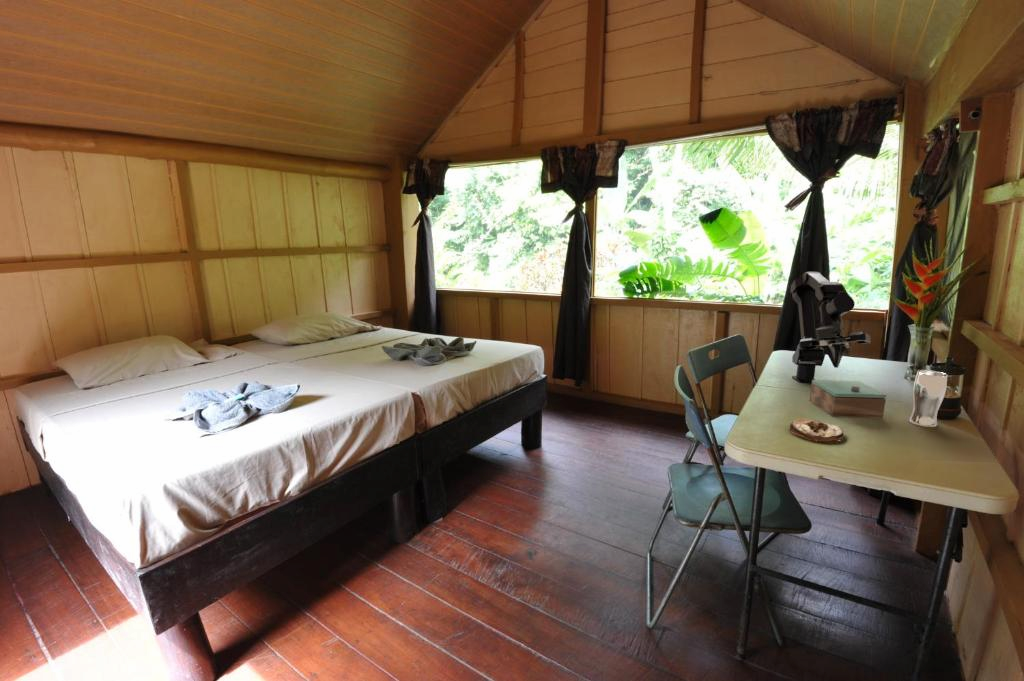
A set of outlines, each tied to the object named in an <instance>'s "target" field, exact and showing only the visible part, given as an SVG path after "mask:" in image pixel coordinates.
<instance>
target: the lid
mask: <svg viewBox="0 0 1024 681" xmlns="http://www.w3.org/2000/svg"><path fill="white" fill-rule="evenodd" d="M812 383H813V384H814V385H816V386H818V387H820V388H821V389H823V390H825V391H826V392H828V393H830V394H831V395H833V396H835V397H865V398H885V399H886V398H887V394H886V393H884V392H881V391H880V390H877V389H876V388H875V387H871V386H869V385H867V384H865V383H863V382H861V381H860V380H837V379H835V380H834V379H833V380H832V379H831V380H829V379H815V380H812V382H811V384H812Z"/></svg>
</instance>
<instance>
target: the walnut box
mask: <svg viewBox="0 0 1024 681" xmlns="http://www.w3.org/2000/svg"><path fill="white" fill-rule="evenodd" d="M808 401H809V402H810V403H812V404H813V405H814V406H816V407H817V408H819V409H820V410H822V411H823V412H825V413H826V414H828V415H829V416H830V417H832V418H833V417H834V418H855V419H856V418H857V419H859V418H860V419H861V418H862V419H863V418H864V419H865V418H866V419H883V418H884V412H885V407H886V401H887V400H886V398H865V397H835V396H833V395H831V394H830V393H828V392H826V391H825V390H823V389H821V388H820V387H818V386H816V385H814V384H813V383H812V382H811V385H810V394H809V400H808Z"/></svg>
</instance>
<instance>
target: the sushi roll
mask: <svg viewBox="0 0 1024 681" xmlns="http://www.w3.org/2000/svg"><path fill="white" fill-rule="evenodd" d="M790 430H791V431H792V432H793V433H795V434H797V435H799V436H802V437H804V438H807V439H806V440H807V441H812V440H817V441H816V442H818V441H825V442H824V443H826V442H834V443H836V442H835V441H838V440H842V441H843V436H844V431H843V429H842V428H841V427H839V426H838V425H835V424H832V423H831V422H830V423H829V422H826V421H825V422H824V421H821V420H816V419H811V418H805V417H803V418H798V419H795V420H793V421H792V423H790V425H789V431H790ZM791 431H790V432H791ZM792 432H791V433H792ZM793 433H792V434H793ZM795 434H794V435H795ZM797 435H796V436H797ZM799 436H798V437H799ZM804 438H803V439H804ZM809 439H810V440H809Z"/></svg>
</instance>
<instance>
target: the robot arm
mask: <svg viewBox="0 0 1024 681" xmlns="http://www.w3.org/2000/svg"><path fill="white" fill-rule="evenodd" d="M790 293H791V295H792V300H793V301H794V302H795V303H796V304H797V306H798V315H799V316H798V318H799V329H800V340H799V343H798V344H797V347H796V350H795V351H794V353H793V355H792V359H791V360H792V361H791V362H792V363H793V365H795V366H796V368H797V369H796V373H795V374H796V375H792V376H791V378H792V379H794V380H796V381H797V382H799V383H812V380H816V379H815V374H816V367H818V366H819V367H822V366H823V364H824V360H825V358H826V354H827V357H828V358H829V360H830V362H831V364H832V366H833V367H834V368H835V369H836V368H839V366H840V363H841V360H842V358H843V356H844V354H845V352H846V350H847V349H850V347H851V346H850V344H849V343H854V342H856V343H857V344H859V345H862V344H863V345H865V344H871V341H872V340H871V336H870V334H868V333H867V332H865V331H858V332H850V334H849V335H848V336H845V335H844V323H843V317H842V316H843V315H845V314H847V313H849V312H850V311H852V310H853V309H854V307H855V300H854V299H853V297H851V296H850V294H849V293H848V291H847V290H846V288H845V287H844V284H843V283H841V282H836V281H830V279H829V280H828V279H827V278H826V277H824V276H823V275H822V273H821V272H819V271H806V272H804V273H803V274H802V275H801V276H799V277H797V278H795V279H794V280H793V282H792V283H791V285H790ZM815 298H817V300H818V301H825V302H821V305H820V306H819V307H818V311H819V312H820V321H821V322H820V324H819V325H820V326H819V327H818V328H816V322H815V314H814V312H815V310H814V304H813V303H814V302H813V301H814V300H815ZM832 345H833V346H832Z"/></svg>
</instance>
